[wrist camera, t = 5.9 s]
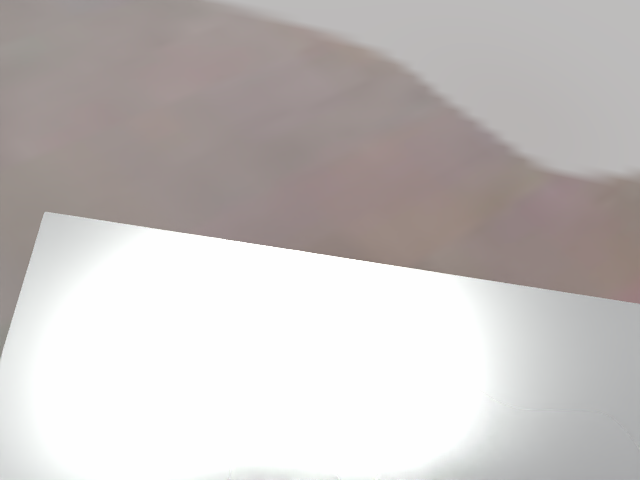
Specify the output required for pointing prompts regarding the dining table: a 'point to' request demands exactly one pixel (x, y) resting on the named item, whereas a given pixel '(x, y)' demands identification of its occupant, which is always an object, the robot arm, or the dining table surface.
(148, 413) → the block
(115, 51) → the dining table surface
